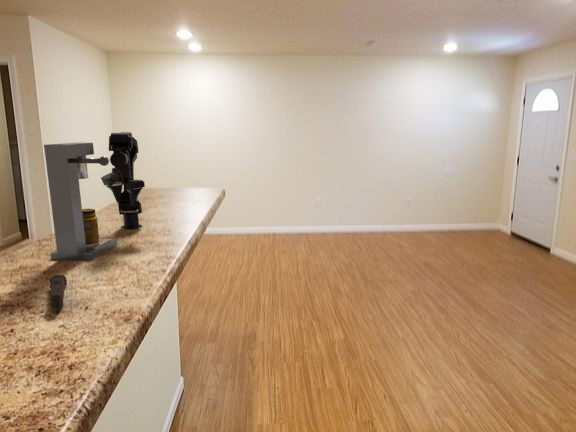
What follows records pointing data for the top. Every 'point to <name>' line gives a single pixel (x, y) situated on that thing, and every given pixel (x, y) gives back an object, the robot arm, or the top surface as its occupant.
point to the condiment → (90, 227)
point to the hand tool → (57, 292)
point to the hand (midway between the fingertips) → (125, 203)
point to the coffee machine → (71, 199)
